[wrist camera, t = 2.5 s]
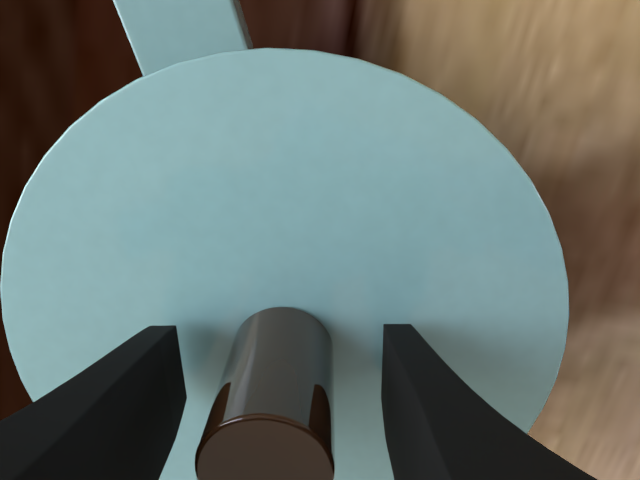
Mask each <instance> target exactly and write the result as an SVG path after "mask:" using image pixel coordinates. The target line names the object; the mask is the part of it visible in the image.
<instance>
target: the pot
mask: <svg viewBox="0 0 640 480" xmlns="http://www.w3.org/2000/svg"><path fill="white" fill-rule="evenodd" d="M113 2H114V4H115V7H116V9H117V12H118V14H119V17H120V19H121V22H122V24H123V27H124V29H125V32H126V34H127V37H128V39H129V42H130V44H131V47H132V49H133V52H134V54H135V57H136V59H137V62H138V64H139V67H140V69H141V72H142V74H143V76H145V75H148V74H150V73H153V72H155V71H158V70H160V69H163V68H165V67H168V66H170V65H173V64H175V63H178V62H182V61H186V60H190V59H194V58H198V57H202V56H206V55H211V54H215V53H219V52H226V51H237V50H247V49H254V48H253V44H252V41H251V38H250V35H249V32H248V29H247V25H246V22H245V19H244V16H243V13H242V9H241V6H240V3H239V0H113Z"/></svg>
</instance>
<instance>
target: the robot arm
mask: <svg viewBox="0 0 640 480" xmlns="http://www.w3.org/2000/svg"><path fill="white" fill-rule="evenodd" d="M186 400H187V394H186V388H185V381H184V374H183V368H182V361H181V354H180V348H179V341H178V334H177V328H176V325H166V326H148V327H147V328H145V329H143V330H142V331H140V332H139V333H137V334H135V335H134V336H132V337H131V338H130V339H128V340H127V341H125V342H124V343H122V344H121V345H119V346H118V347H117V348H115V349H114V350H112V351H111V352H109V353H108V354H106V355H105V356H104V357H102V358H101V359H99V360H98V361H96V362H95V363H93V364H92V365H90V366H89V367H88V368H86V369H85V370H83V371H82V372H80V373H79V374H77V375H76V376H74V377H73V378H71V379H69V380H68V381H66V382H65V383H63V384H62V385H60V386H58V387H57V388H55V389H54V390H52V391H51V392H49V393H47V394H46V395H44V396H43V397H41V398H39V399H38V400H36V401H35V402H33V403H31V404H30V405H28V406H26V407H25V408H23V409H21V410H19V411H18V412H16V413H14V414H12V415H11V416H9V417H7V418H5V419H3V420H1V421H0V480H159V478H160V475H161V473H162V471H163V468H164V466H165V464H166V461H167V459H168V456H169V454H170V452H171V449H172V447H173V444H174V442H175V439H176V436H177V433H178V430H179V426H180V423H181V419H182V415H183V412H184V408H185V404H186ZM381 403H382V412H383V422H384V431H385V439H386V444H387V449H388V453H389V458H390V462H391V467H392V472H393V476H394V480H597V479H595V478H594V477H592V476H590V475H589V474H587V473H585V472H583V471H582V470H580V469H579V468H577V467H575V466H574V465H572V464H571V463H569V462H568V461H566V460H565V459H563V458H561V457H560V456H558V455H557V454H555V453H554V452H552V451H551V450H549V449H547V448H546V447H545V446H543V445H542V444H540V443H539V442H537V441H536V440H534V439H533V438H532V437H530V436H529V435H528V434H526V433H525V432H524V431H522V430H521V429H520V428H518V427H517V426H516V425H514V424H513V423H512V422H510V421H509V420H508V419H506V418H505V417H504V416H502V415H501V414H500V413H499V412H498V411H496V410H495V409H494V408H493V407H492V406H490V405H489V404H488V403H487V402H486V401H485V400H484V399H482V398H481V397H480V396H479V395H478V394H477V393H476V392H475V391H473V390H472V389H471V388H470V387H469V386H468V385H467V384H466V383H465V382H464V381H463V380H462V379H461V378H460V377H459V376H458V375H457V374H456V373H455V372H454V371H453V370H452V369H451V368H450V367H449V366H448V365H447V364H446V363H445V362H444V361H443V359H442V358H441V357H440V356H439V355H438V354H437V353H436V352H435V351H434V350H433V348H432V347H431V346H430V345H429V344H428V343H427V342H426V340H425V339H424V338H423V337H422V336H421V335H420V334H419V332H418V331H417V330H416V329H415V328H414V327H413V326H412V325H411V324H383V354H382V383H381Z"/></svg>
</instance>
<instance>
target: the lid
mask: <svg viewBox="0 0 640 480" xmlns="http://www.w3.org/2000/svg"><path fill="white" fill-rule="evenodd" d="M0 291H1V303H2V316H3V323H4V327H5V331H6V336H7V340H8V344H9V349H10V352H11V355H12V357H13V360H14V363H15V365H16V368H17V370H18V373H19V376H20V378H21V381H22V382H23V384H24V386H25V388H26V390H27V392H28V394H29V395H30V397H31V399H32V401H33V402H35V401H36V400H38V399H39V398H41V397H43V396H44V395H46V394H47V393H49V392H51V391H52V390H54V389H55V388H57V387H58V386H60V385H62V384H63V383H65V382H66V381H68V380H69V379H71V378H73V377H74V376H76V375H77V374H79V373H80V372H82V371H83V370H85V369H86V368H88V367H89V366H90V365H92V364H93V363H95V362H96V361H98V360H99V359H101V358H102V357H104V356H105V355H106V354H108V353H109V352H111V351H112V350H114V349H115V348H117V347H118V346H119V345H121V344H122V343H124V342H125V341H127V340H128V339H130V338H131V337H132V336H134V335H135V334H137V333H139V332H140V331H142V330H143V329H145V328H147V327H148V326H166V325H176V328H177V334H178V341H179V348H180V354H181V361H182V368H183V374H184V381H185V388H186V394H187V400H186V404H185V408H184V412H183V415H182V419H181V423H180V426H179V430H178V433H177V436H176V439H175V442H174V444H173V447H172V449H171V452H170V454H169V456H168V459H167V461H166V464H165V466H164V468H163V471H162V473H161V475H160V478H159V480H394V476H393V472H392V467H391V462H390V458H389V453H388V449H387V444H386V439H385V431H384V422H383V412H382V403H381V383H382V354H383V324H411V325H412V326H413V327H414V328H415V329H416V330H417V331H418V332H419V334H420V335H421V336H422V337H423V338H424V339H425V340H426V342H427V343H428V344H429V345H430V346H431V347H432V348H433V350H434V351H435V352H436V353H437V354H438V355H439V356H440V357H441V358H442V359H443V361H444V362H445V363H446V364H447V365H448V366H449V367H450V368H451V369H452V370H453V371H454V372H455V373H456V374H457V375H458V376H459V377H460V378H461V379H462V380H463V381H464V382H465V383H466V384H467V385H468V386H469V387H470V388H471V389H472V390H473V391H475V392H476V393H477V394H478V395H479V396H480V397H481V398H482V399H484V400H485V401H486V402H487V403H488V404H489V405H490V406H492V407H493V408H494V409H495V410H496V411H498V412H499V413H500V414H501V415H502V416H504V417H505V418H506V419H508V420H509V421H510V422H512V423H513V424H514V425H516V426H517V427H518V428H520V429H521V430H522V431H524V432H525V433H526V434H527V433H528V432H529V430H530V429H531V427H532V425H533V424H534V422H535V420H536V419H537V417H538V416H539V414H540V412H541V411H542V409H543V408H544V406H545V404H546V401H547V399H548V397H549V394H550V392H551V390H552V388H553V385H554V383H555V381H556V379H557V376H558V372H559V368H560V365H561V361H562V358H563V354H564V350H565V346H566V338H567V330H568V321H569V292H568V278H567V273H566V267H565V262H564V257H563V252H562V246H561V244H560V241H559V238H558V235H557V233H556V230H555V227H554V224H553V222H552V219H551V216H550V213H549V211H548V209H547V207H546V206H545V204H544V202H543V200H542V198H541V197H540V195H539V193H538V191H537V189H536V187H535V186H534V184H533V182H532V180H531V179H530V177H529V176H528V175H527V173H526V172H525V171H524V169H523V168H522V167H521V166H520V164H519V163H518V162H517V160H516V159H515V158H514V156H513V155H512V154H511V153H510V151H509V150H508V149H507V147H506V146H505V145H503V144H502V143H501V142H500V141H499V140H498V139H497V138H496V137H495V136H494V135H493V134H492V133H491V132H490V131H489V130H488V129H487V128H486V127H485V126H484V125H483V124H482V123H481V122H479V121H478V120H477V119H476V118H475V117H473V116H472V115H471V114H469V113H468V112H466V111H465V110H464V109H462V108H461V107H459V106H458V105H457V104H455V103H454V102H452V101H451V100H449V99H448V98H447V97H445V96H444V95H442V94H441V93H439V92H437V91H435V90H433V89H431V88H429V87H427V86H425V85H423V84H421V83H419V82H417V81H415V80H413V79H412V78H410V77H408V76H406V75H404V74H402V73H399V72H396V71H393V70H390V69H387V68H384V67H381V66H378V65H376V64H373V63H370V62H367V61H364V60H361V59H358V58H352V57H347V56H342V55H337V54H332V53H326V52H321V51H316V50H304V49H284V48H258V49H247V50H237V51H226V52H219V53H215V54H211V55H206V56H202V57H198V58H194V59H190V60H186V61H182V62H178V63H175V64H173V65H170V66H168V67H165V68H163V69H160V70H158V71H155V72H153V73H150V74H148V75H145V76H143V77H140V78H138V79H136V80H134V81H133V82H131V83H129V84H128V85H126V86H124V87H123V88H121V89H119V90H117V91H116V92H114V93H112V94H111V95H109V96H107V97H106V98H104V99H102V100H101V101H100V102H98V103H97V104H96V105H95V106H93V107H92V108H91V109H90V110H89V111H87V112H86V113H85V114H84V115H83V116H81V117H80V118H79V119H78V120H77V121H75V122H74V123H73V124H72V125H70V126H69V128H68V129H67V130H66V131H65V132H64V133H63V134H62V136H61V137H60V138H59V139H58V140H57V141H56V142H55V144H54V145H53V146H52V147H51V148H50V149H49V150H48V151H47V153H46V154H45V155H44V157H43V158H42V160H41V161H40V163H39V164H38V166H37V168H36V169H35V171H34V172H33V174H32V176H31V177H30V179H29V180H28V182H27V184H26V185H25V187H24V190H23V192H22V194H21V197H20V199H19V201H18V204H17V206H16V209H15V211H14V213H13V216H12V218H11V221H10V225H9V229H8V234H7V238H6V242H5V246H4V250H3V256H2V270H1V283H0Z"/></svg>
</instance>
